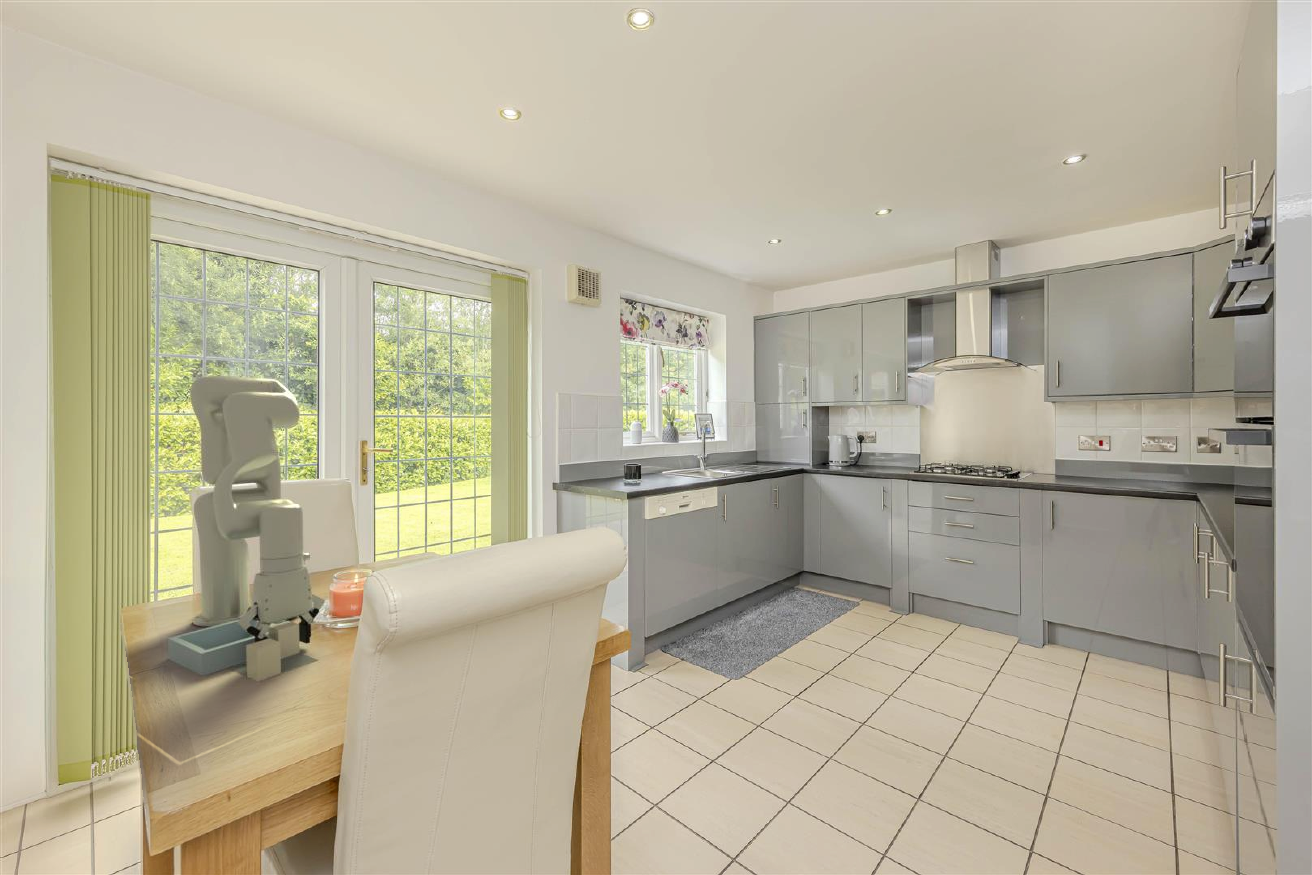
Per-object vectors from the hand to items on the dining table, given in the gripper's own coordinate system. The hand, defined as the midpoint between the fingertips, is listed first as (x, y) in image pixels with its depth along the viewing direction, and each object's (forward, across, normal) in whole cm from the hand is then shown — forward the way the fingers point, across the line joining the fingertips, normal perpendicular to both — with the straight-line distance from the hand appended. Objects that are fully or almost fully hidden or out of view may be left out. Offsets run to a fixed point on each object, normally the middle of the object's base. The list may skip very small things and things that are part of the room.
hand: (284, 648), depth 117 cm
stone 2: (+1, 0, 0) cm, 1 cm away
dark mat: (+2, +4, +4) cm, 5 cm away
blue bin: (+2, +6, -10) cm, 12 cm away
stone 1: (+1, +7, +7) cm, 10 cm away
